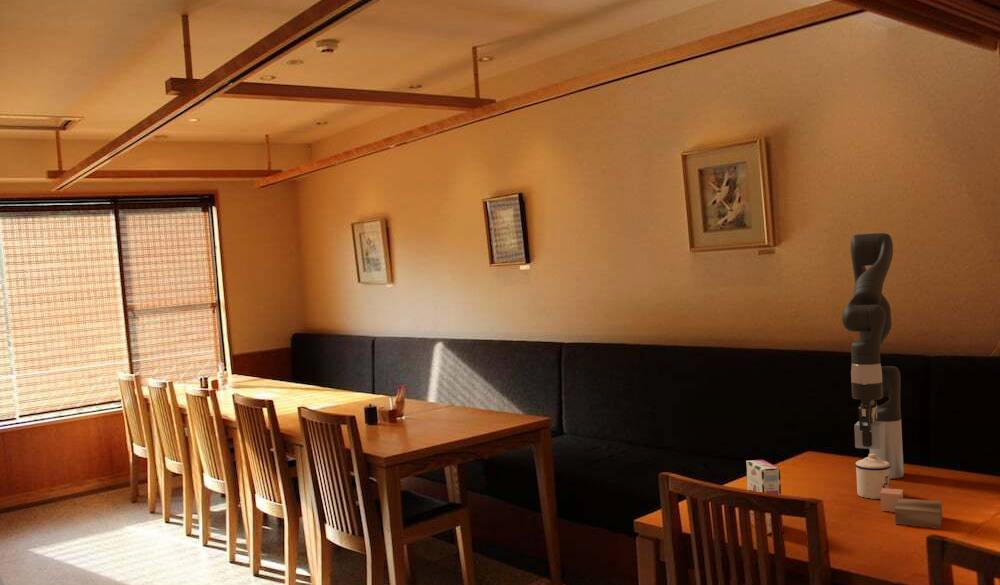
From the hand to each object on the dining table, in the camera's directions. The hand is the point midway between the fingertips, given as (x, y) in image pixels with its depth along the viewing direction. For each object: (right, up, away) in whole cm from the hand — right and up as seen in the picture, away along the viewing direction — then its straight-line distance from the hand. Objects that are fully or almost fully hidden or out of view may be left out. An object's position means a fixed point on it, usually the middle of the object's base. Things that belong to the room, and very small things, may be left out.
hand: (869, 443), depth 229 cm
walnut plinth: (+8, -18, -10) cm, 22 cm away
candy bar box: (-30, -20, -8) cm, 37 cm away
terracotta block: (+6, -18, +1) cm, 19 cm away
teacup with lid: (+8, -17, +16) cm, 25 cm away
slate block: (0, -1, 0) cm, 1 cm away
